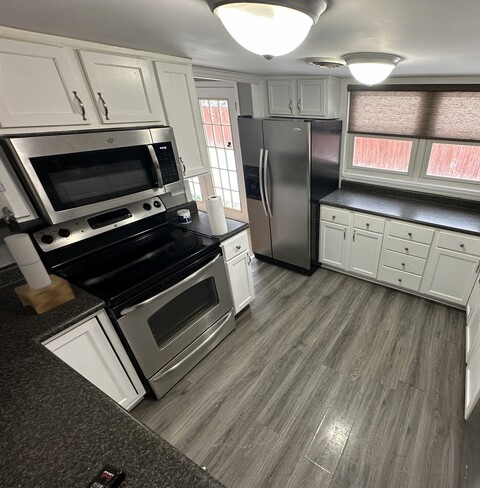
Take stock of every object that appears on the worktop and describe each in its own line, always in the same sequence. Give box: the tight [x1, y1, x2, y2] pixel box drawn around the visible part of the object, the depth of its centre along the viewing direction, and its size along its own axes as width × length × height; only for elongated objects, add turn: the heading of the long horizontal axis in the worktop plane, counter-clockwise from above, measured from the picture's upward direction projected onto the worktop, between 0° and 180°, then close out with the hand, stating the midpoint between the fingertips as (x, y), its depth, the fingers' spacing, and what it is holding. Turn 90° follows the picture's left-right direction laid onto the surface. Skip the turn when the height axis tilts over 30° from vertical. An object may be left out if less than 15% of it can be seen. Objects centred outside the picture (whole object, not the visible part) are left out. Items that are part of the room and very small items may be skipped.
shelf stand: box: [13, 273, 76, 315], centre depth 127 cm, size 14×14×10 cm
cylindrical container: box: [3, 233, 52, 289], centre depth 119 cm, size 7×7×25 cm
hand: (10, 229), depth 111 cm, fingers open, 9 cm apart
